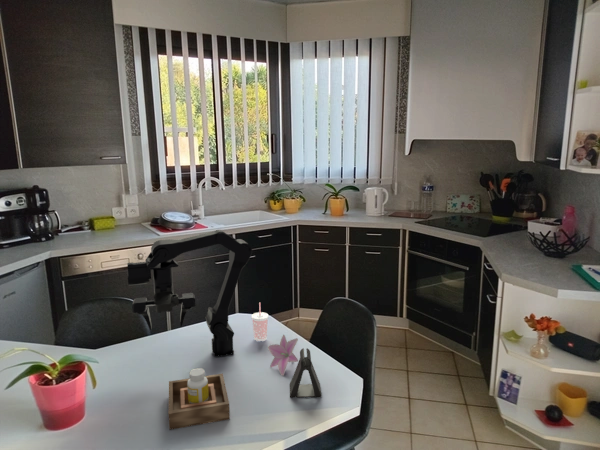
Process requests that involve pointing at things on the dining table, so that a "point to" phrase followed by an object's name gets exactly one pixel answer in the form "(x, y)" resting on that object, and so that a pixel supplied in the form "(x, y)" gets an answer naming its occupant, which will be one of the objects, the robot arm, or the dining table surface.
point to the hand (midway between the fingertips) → (166, 327)
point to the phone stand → (295, 386)
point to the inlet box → (197, 404)
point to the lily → (283, 354)
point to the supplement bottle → (197, 386)
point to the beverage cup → (260, 325)
